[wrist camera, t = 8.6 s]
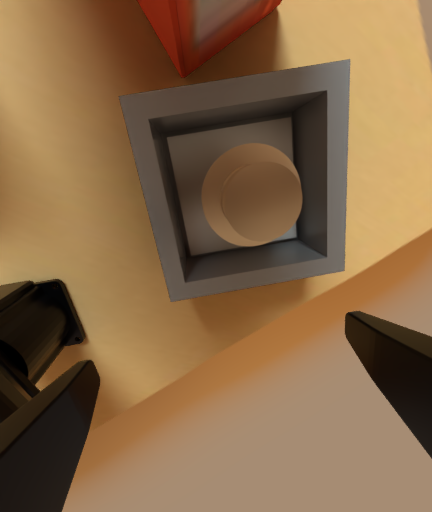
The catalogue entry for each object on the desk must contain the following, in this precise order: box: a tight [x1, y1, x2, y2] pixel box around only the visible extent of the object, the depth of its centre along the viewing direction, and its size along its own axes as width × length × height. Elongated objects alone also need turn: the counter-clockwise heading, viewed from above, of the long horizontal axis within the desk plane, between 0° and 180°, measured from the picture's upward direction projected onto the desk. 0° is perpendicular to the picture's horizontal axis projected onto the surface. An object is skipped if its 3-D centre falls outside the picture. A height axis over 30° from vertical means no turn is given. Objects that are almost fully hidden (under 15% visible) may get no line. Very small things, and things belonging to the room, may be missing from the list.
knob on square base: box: [167, 117, 303, 256], centre depth 15 cm, size 9×9×8 cm
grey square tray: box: [119, 59, 350, 302], centre depth 17 cm, size 12×12×6 cm
